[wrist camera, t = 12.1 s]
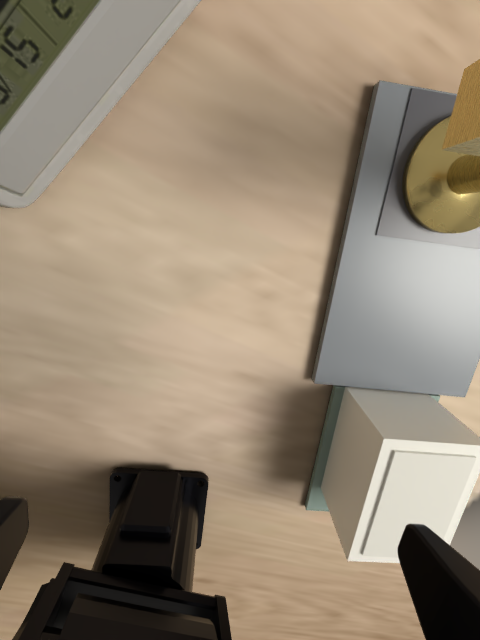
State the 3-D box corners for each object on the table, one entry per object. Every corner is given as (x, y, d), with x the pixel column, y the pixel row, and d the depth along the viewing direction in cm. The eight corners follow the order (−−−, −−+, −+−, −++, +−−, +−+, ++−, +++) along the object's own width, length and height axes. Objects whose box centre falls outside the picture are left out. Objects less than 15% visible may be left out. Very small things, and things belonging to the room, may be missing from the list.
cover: (395, 492, 22) (443, 567, 18) (320, 487, 22) (348, 563, 17) (427, 393, 20) (493, 448, 15) (345, 386, 20) (385, 440, 15)
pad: (395, 510, 23) (398, 515, 23) (304, 505, 23) (306, 510, 23) (436, 393, 21) (440, 396, 20) (333, 383, 20) (335, 386, 20)
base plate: (458, 392, 21) (466, 398, 20) (311, 378, 20) (314, 384, 19) (559, 118, 16) (573, 113, 15) (373, 85, 15) (380, 79, 15)
